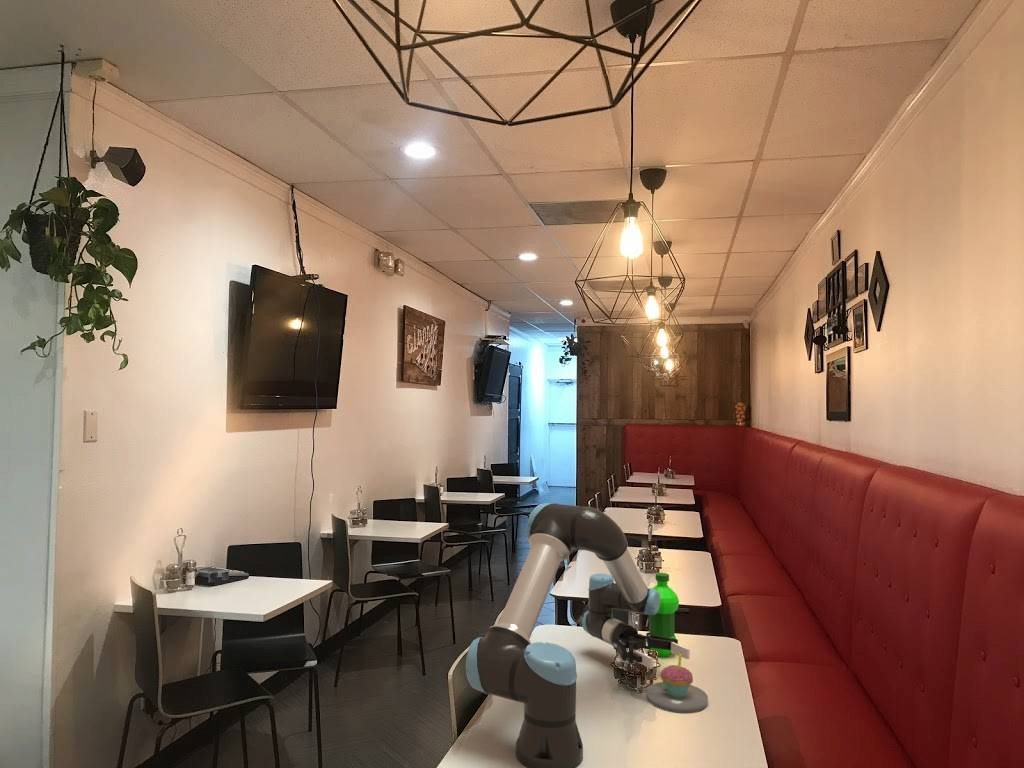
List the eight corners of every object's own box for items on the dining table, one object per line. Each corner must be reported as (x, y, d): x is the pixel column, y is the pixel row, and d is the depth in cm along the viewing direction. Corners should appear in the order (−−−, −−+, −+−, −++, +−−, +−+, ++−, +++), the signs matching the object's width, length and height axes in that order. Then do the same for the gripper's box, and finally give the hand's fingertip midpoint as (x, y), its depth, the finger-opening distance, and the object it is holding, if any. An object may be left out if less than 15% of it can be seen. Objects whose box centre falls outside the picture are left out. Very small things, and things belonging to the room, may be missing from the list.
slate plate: (676, 718, 172) (676, 712, 172) (634, 694, 186) (634, 688, 186) (720, 704, 180) (720, 698, 181) (677, 682, 194) (677, 677, 194)
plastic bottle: (648, 645, 223) (649, 569, 224) (681, 651, 219) (682, 572, 220) (641, 656, 214) (642, 576, 215) (675, 661, 210) (675, 580, 211)
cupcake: (699, 698, 181) (699, 652, 181) (671, 702, 178) (672, 656, 178) (680, 685, 189) (681, 641, 189) (654, 689, 186) (654, 644, 186)
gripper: (651, 640, 211) (703, 664, 193) (586, 655, 198) (635, 681, 180) (652, 616, 211) (703, 637, 193) (587, 629, 198) (635, 652, 180)
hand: (670, 658), depth 186 cm, fingers open, 13 cm apart
